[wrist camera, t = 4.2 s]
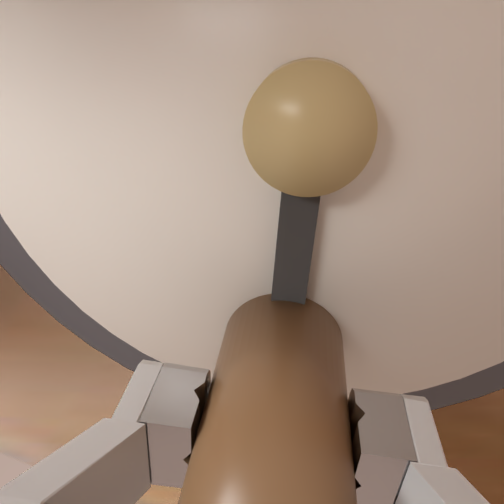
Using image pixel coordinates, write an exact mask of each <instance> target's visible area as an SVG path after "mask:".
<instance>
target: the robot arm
mask: <svg viewBox="0 0 504 504" xmlns="http://www.w3.org/2000/svg"><path fill="white" fill-rule="evenodd" d="M210 383H211V371H210V370H209V369H203V368H197V367H190V366H184V365H178V364H171V363H162V362H156V361H149V360H142V361H141V362H140V363H139V364H138V366H137V368H136V370H135V372H134V374H133V376H132V378H131V380H130V382H129V384H128V386H127V388H126V390H125V392H124V394H123V396H122V398H121V400H120V402H119V404H118V406H117V408H116V410H115V412H114V414H113V416H112V418H111V419H110V418H103V419H102V420H100V421H99V422H97V423H96V424H94V425H93V426H91V427H90V428H88V429H87V430H85V431H84V432H82V433H81V434H80V435H78V436H77V437H75V438H74V439H72V440H71V441H69V442H68V443H66V444H65V445H63V446H62V447H60V448H59V449H57V450H56V451H54V452H53V453H52V454H50V455H49V456H47V457H46V458H44V459H43V460H41V461H40V462H38V463H37V464H35V465H34V466H32V467H31V468H29V469H28V470H27V471H25V472H24V473H22V474H21V475H19V476H18V477H16V478H15V479H13V480H12V481H10V482H9V483H7V484H6V485H4V486H3V487H1V488H0V504H135V503H136V502H137V501H138V500H139V499H140V498H141V497H142V496H143V494H144V493H145V492H146V491H147V490H148V489H149V488H150V487H151V485H150V484H153V485H161V486H169V487H177V488H182V486H183V483H184V479H185V475H186V472H187V468H188V465H189V461H190V457H191V454H192V450H193V446H194V443H195V439H196V435H197V432H198V428H199V425H200V421H201V417H202V414H203V410H204V406H205V403H206V399H207V395H208V391H209V387H210ZM348 407H349V418H350V429H351V441H352V452H353V463H354V474H355V485H356V496H357V504H490V503H489V502H488V501H487V500H486V499H485V498H484V497H483V496H482V495H481V494H480V493H479V492H478V491H477V489H476V488H475V487H474V486H473V485H472V484H471V483H470V482H469V481H468V480H467V479H466V478H465V477H464V476H463V475H462V474H461V473H460V472H459V471H458V470H457V469H456V468H451V467H448V464H447V461H446V458H445V454H444V451H443V448H442V444H441V441H440V438H439V435H438V431H437V428H436V425H435V421H434V418H433V415H432V412H431V408H430V405H429V402H428V400H427V399H426V398H425V397H422V396H414V395H405V394H400V395H399V394H397V393H389V392H380V391H372V390H364V389H356V388H352V389H351V391H350V394H349V398H348Z"/></svg>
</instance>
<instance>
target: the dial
mask: <svg viewBox="0 0 504 504" xmlns="http://www.w3.org/2000/svg"><path fill="white" fill-rule="evenodd" d="M0 214H1V216H2V218H3V219H4V221H5V223H6V224H7V225H8V227H9V228H10V230H11V231H12V232H13V234H14V235H15V237H16V238H17V239H18V241H19V242H20V244H21V245H22V246H23V248H24V249H25V251H26V252H27V253H28V255H29V256H30V257H31V258H32V259H33V261H34V262H35V263H36V264H37V265H38V266H39V267H40V269H41V270H42V271H43V272H44V273H45V274H46V275H47V277H48V278H49V279H50V280H51V281H52V282H53V283H54V285H55V286H57V287H58V288H59V289H60V290H61V291H62V292H63V293H64V294H65V295H66V296H67V297H68V298H69V299H70V300H71V301H73V302H74V303H75V304H76V305H77V306H78V307H79V308H80V309H81V310H82V311H83V312H85V313H86V314H87V315H88V316H90V317H91V318H92V319H94V320H95V321H96V322H98V323H99V324H100V325H101V326H103V327H104V328H105V329H107V330H108V331H109V332H111V333H112V334H113V335H115V336H117V337H118V338H120V339H121V340H123V341H124V342H126V343H128V344H129V345H131V346H132V347H134V348H136V349H137V350H139V351H140V352H142V353H144V354H146V355H148V356H150V357H152V358H154V359H156V360H158V361H160V362H162V363H171V364H178V365H184V366H190V367H197V368H203V369H209V370H210V371H211V385H210V388H209V392H208V395H207V399H206V403H205V406H204V410H203V414H202V417H201V421H200V425H199V428H198V432H197V435H196V439H195V443H194V446H193V450H192V454H191V457H190V461H189V465H188V468H187V472H186V475H185V479H184V483H183V486H182V490H181V494H180V497H179V501H178V504H357V496H356V485H355V474H354V463H353V452H352V441H351V429H350V418H349V407H348V398H349V394H350V391H351V389H352V388H356V389H364V390H372V391H380V392H389V393H397V394H404V393H409V392H414V391H419V390H424V389H427V388H431V387H434V386H438V385H441V384H444V383H448V382H451V381H455V380H458V379H461V378H464V377H467V376H469V375H472V374H474V373H477V372H479V371H482V370H484V369H487V368H489V367H492V366H494V365H497V364H499V363H501V362H503V361H504V0H0Z"/></svg>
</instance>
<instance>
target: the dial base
mask: <svg viewBox="0 0 504 504" xmlns="http://www.w3.org/2000/svg"><path fill="white" fill-rule="evenodd" d="M0 265H1V266H2V267H3V268H4V269H5V270H6V271H7V272H8V273H9V274H10V276H11V277H12V278H13V279H14V280H15V281H16V282H17V283H18V284H19V285H20V286H21V288H22V289H23V290H24V291H25V292H26V293H27V294H28V295H29V296H30V297H32V298H33V299H34V300H35V301H36V302H37V303H38V304H39V305H40V306H41V307H43V308H44V309H45V310H46V311H47V312H48V313H49V314H50V315H51V316H53V317H54V318H55V319H56V320H57V321H58V322H59V323H61V324H62V325H63V326H65V327H66V328H67V329H69V330H70V331H71V332H73V333H74V334H75V335H77V336H78V337H79V338H81V339H82V340H83V341H85V342H86V343H87V344H89V345H90V346H92V347H93V348H95V349H96V350H98V351H100V352H101V353H103V354H105V355H106V356H108V357H109V358H111V359H113V360H114V361H116V362H118V363H119V364H121V365H122V366H124V367H126V368H128V369H130V370H132V371H134V372H135V370H136V368H137V366H138V364H139V363H140V362H141V361H142V360H149V361H156V362H160V361H158V360H156V359H154V358H152V357H150V356H148V355H146V354H144V353H142V352H140V351H139V350H137V349H136V348H134V347H132V346H131V345H129V344H128V343H126V342H124V341H123V340H121V339H120V338H118V337H117V336H115V335H113V334H112V333H111V332H109V331H108V330H107V329H105V328H104V327H103V326H101V325H100V324H99V323H98V322H96V321H95V320H94V319H92V318H91V317H90V316H88V315H87V314H86V313H85V312H83V311H82V310H81V309H80V308H79V307H78V306H77V305H76V304H75V303H74V302H73V301H71V300H70V299H69V298H68V297H67V296H66V295H65V294H64V293H63V292H62V291H61V290H60V289H59V288H58V287H57V286H55V285H54V283H53V282H52V281H51V280H50V279H49V278H48V277H47V275H46V274H45V273H44V272H43V271H42V270H41V269H40V267H39V266H38V265H37V264H36V263H35V262H34V261H33V259H32V258H31V257H30V256H29V255H28V253H27V252H26V251H25V249H24V248H23V246H22V245H21V244H20V242H19V241H18V239H17V238H16V237H15V235H14V234H13V232H12V231H11V230H10V228H9V227H8V225H7V224H6V223H5V221H4V219H3V218H2V216H1V214H0ZM210 385H211V383H210ZM209 388H210V387H209ZM503 388H504V361H503V362H501V363H499V364H497V365H494V366H492V367H489V368H487V369H484V370H482V371H479V372H477V373H474V374H472V375H469V376H467V377H464V378H461V379H458V380H455V381H451V382H448V383H444V384H441V385H438V386H434V387H431V388H427V389H424V390H419V391H414V392H409V393H404V394H405V395H414V396H422V397H425V398H426V399H427V400H428V402H429V405H430V408H431V410H434V409H438V408H442V407H446V406H449V405H453V404H456V403H460V402H464V401H467V400H471V399H475V398H478V397H481V396H484V395H487V394H489V393H492V392H495V391H497V390H500V389H503ZM208 392H209V391H208ZM399 395H400V394H399Z"/></svg>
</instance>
